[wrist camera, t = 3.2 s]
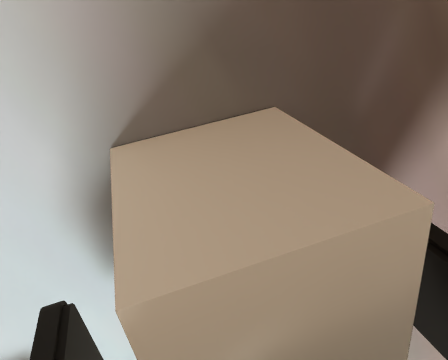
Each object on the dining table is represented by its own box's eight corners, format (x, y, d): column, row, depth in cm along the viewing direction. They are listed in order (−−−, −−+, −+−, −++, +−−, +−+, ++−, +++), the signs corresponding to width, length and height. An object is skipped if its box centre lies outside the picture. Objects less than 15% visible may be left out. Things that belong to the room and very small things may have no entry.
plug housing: (274, 106, 11) (441, 206, 5) (291, 308, 15) (391, 471, 10) (110, 148, 10) (115, 318, 4) (179, 350, 14) (222, 555, 9)
